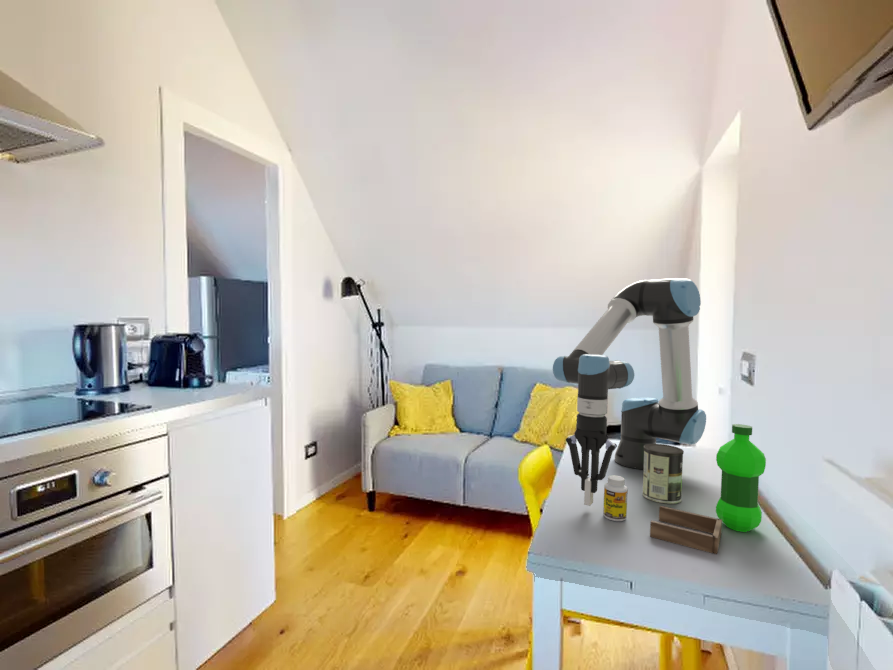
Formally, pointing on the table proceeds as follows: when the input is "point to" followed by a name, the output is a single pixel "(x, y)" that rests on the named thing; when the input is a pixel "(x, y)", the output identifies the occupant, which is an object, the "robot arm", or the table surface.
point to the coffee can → (662, 473)
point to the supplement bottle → (615, 498)
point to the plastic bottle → (740, 481)
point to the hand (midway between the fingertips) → (588, 503)
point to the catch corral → (686, 535)
